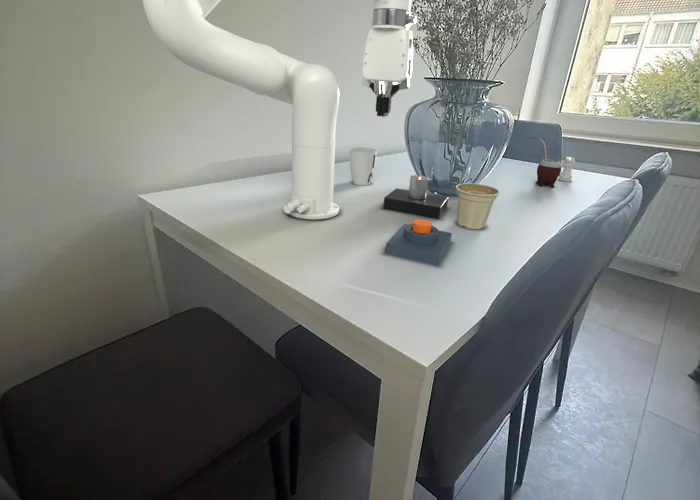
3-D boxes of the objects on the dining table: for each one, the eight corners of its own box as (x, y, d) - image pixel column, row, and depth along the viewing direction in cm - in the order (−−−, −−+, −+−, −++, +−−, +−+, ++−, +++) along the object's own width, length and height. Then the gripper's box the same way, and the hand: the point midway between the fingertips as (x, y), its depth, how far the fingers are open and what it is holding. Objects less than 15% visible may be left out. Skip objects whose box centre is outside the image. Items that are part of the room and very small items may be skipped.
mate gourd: (560, 186, 129) (573, 140, 123) (547, 189, 125) (560, 141, 119) (539, 181, 135) (551, 136, 128) (526, 183, 130) (538, 137, 124)
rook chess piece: (558, 178, 140) (564, 155, 137) (572, 180, 138) (578, 157, 135) (556, 180, 137) (562, 157, 134) (570, 182, 135) (577, 159, 131)
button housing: (438, 266, 70) (441, 245, 68) (385, 253, 73) (387, 234, 71) (450, 242, 80) (453, 224, 78) (403, 233, 83) (405, 215, 81)
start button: (428, 236, 73) (429, 227, 72) (409, 232, 74) (411, 223, 73) (432, 229, 76) (434, 221, 75) (414, 226, 77) (415, 218, 76)
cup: (374, 187, 115) (377, 153, 111) (347, 185, 115) (349, 151, 111) (373, 180, 122) (376, 148, 118) (348, 178, 122) (349, 146, 118)
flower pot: (467, 234, 84) (474, 196, 81) (441, 219, 92) (447, 184, 89) (500, 230, 88) (509, 193, 84) (473, 216, 96) (479, 182, 92)
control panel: (446, 208, 101) (448, 196, 100) (438, 219, 92) (440, 207, 91) (395, 198, 106) (396, 188, 104) (383, 209, 97) (384, 197, 96)
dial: (410, 193, 100) (413, 173, 98) (427, 196, 99) (430, 175, 97) (406, 197, 97) (408, 176, 94) (423, 200, 95) (426, 179, 93)
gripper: (430, 25, 80) (419, 118, 88) (364, 24, 86) (358, 111, 93) (421, 20, 74) (409, 120, 82) (350, 19, 79) (345, 113, 87)
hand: (382, 115), depth 88 cm, fingers closed
